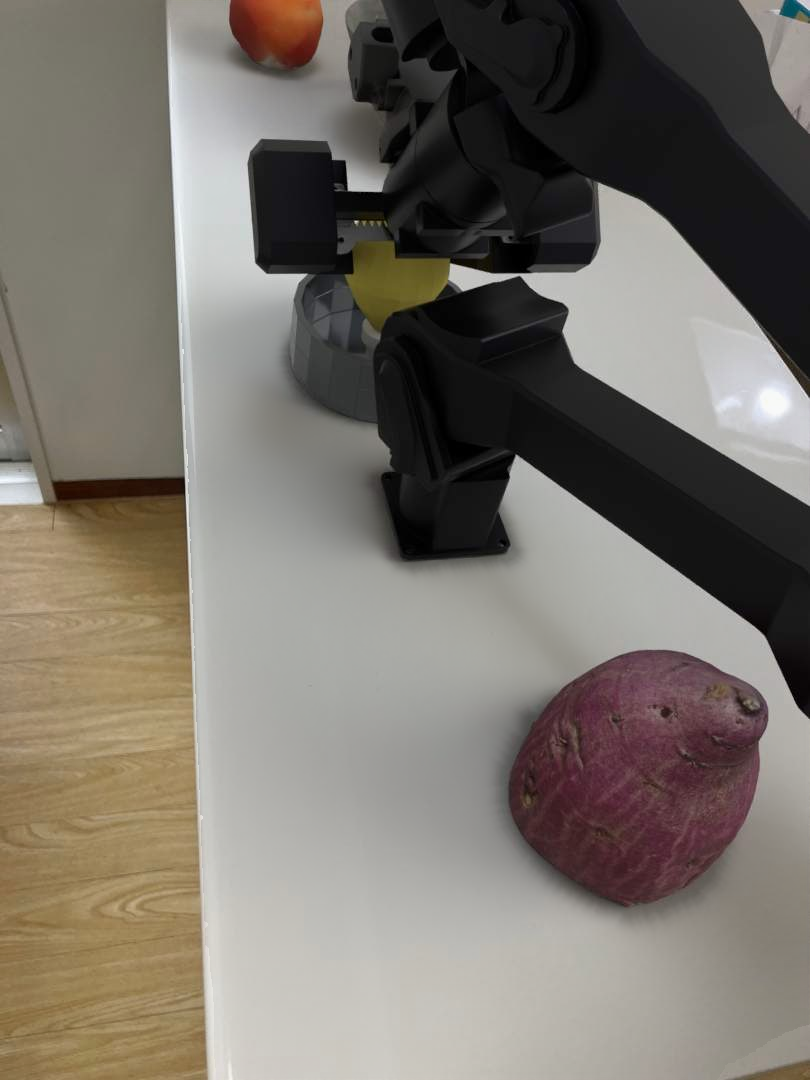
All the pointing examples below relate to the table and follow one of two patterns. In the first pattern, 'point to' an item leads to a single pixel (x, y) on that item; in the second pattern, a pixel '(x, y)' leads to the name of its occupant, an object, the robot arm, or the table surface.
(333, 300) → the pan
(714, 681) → the vegetable
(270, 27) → the red apple
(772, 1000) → the table surface
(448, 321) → the robot arm
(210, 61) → the table surface
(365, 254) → the light bulb
